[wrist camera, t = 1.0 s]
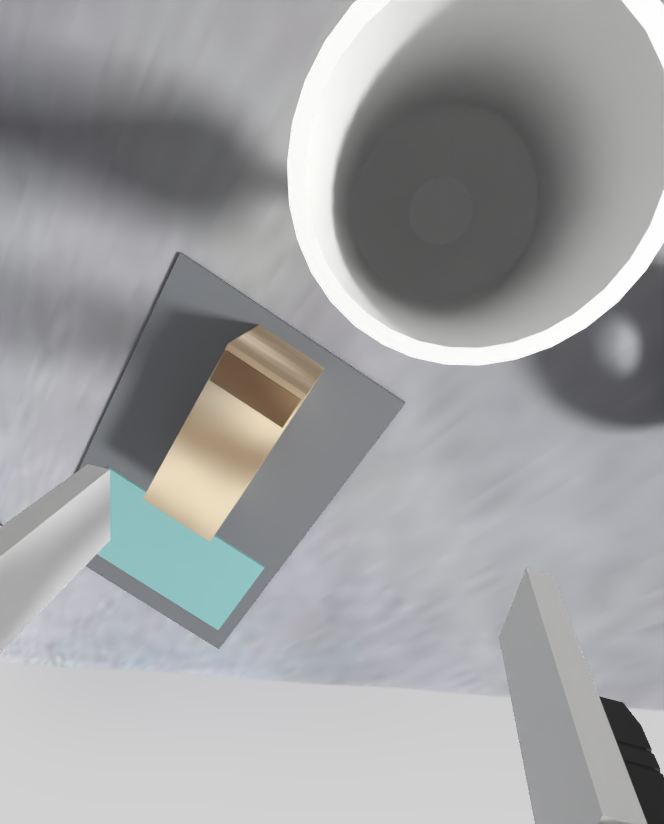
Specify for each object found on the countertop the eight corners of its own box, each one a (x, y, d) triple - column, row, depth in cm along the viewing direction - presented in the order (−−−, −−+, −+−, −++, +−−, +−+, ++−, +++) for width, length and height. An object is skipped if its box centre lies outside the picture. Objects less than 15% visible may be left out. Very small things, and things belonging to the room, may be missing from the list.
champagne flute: (508, 257, 28) (817, 363, 6) (393, 293, 30) (308, 476, 8) (481, 131, 26) (789, -380, 4) (361, 176, 28) (128, -16, 6)
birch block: (239, 498, 37) (209, 543, 31) (181, 461, 36) (141, 500, 31) (325, 368, 32) (305, 395, 27) (259, 324, 32) (227, 343, 27)
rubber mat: (47, 538, 42) (45, 540, 41) (181, 252, 31) (179, 253, 31) (220, 646, 42) (218, 648, 42) (404, 402, 32) (404, 403, 32)
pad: (74, 537, 41) (72, 539, 40) (109, 466, 38) (107, 468, 37) (219, 628, 41) (218, 630, 41) (265, 566, 38) (264, 568, 38)
